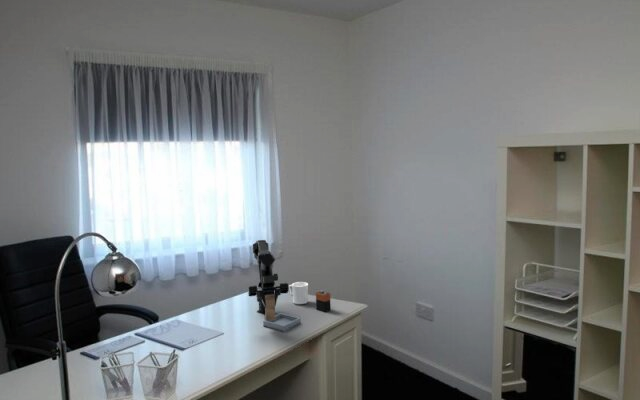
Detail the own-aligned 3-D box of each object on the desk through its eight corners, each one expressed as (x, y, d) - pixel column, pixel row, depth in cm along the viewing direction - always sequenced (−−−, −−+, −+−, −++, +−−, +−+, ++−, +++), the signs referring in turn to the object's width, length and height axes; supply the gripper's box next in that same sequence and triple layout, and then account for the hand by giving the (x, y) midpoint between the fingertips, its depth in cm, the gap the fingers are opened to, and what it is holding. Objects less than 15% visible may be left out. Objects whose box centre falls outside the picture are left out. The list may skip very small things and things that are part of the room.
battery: (321, 307, 247) (321, 288, 245) (331, 310, 242) (330, 291, 241) (315, 309, 244) (315, 290, 242) (325, 312, 239) (324, 293, 238)
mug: (309, 300, 259) (309, 281, 257) (307, 305, 250) (307, 286, 249) (290, 299, 260) (289, 281, 259) (287, 305, 251) (286, 286, 250)
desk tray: (263, 326, 223) (263, 321, 222) (280, 317, 233) (280, 313, 232) (283, 331, 215) (283, 326, 215) (300, 323, 225) (300, 318, 225)
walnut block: (265, 317, 220) (264, 295, 218) (274, 316, 220) (273, 294, 219) (266, 321, 215) (265, 297, 214) (275, 320, 216) (274, 297, 215)
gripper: (247, 269, 217) (250, 300, 208) (287, 266, 221) (291, 296, 211) (247, 280, 225) (249, 311, 216) (285, 277, 229) (289, 307, 220)
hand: (270, 306), depth 216 cm, fingers closed on walnut block, 4 cm apart
